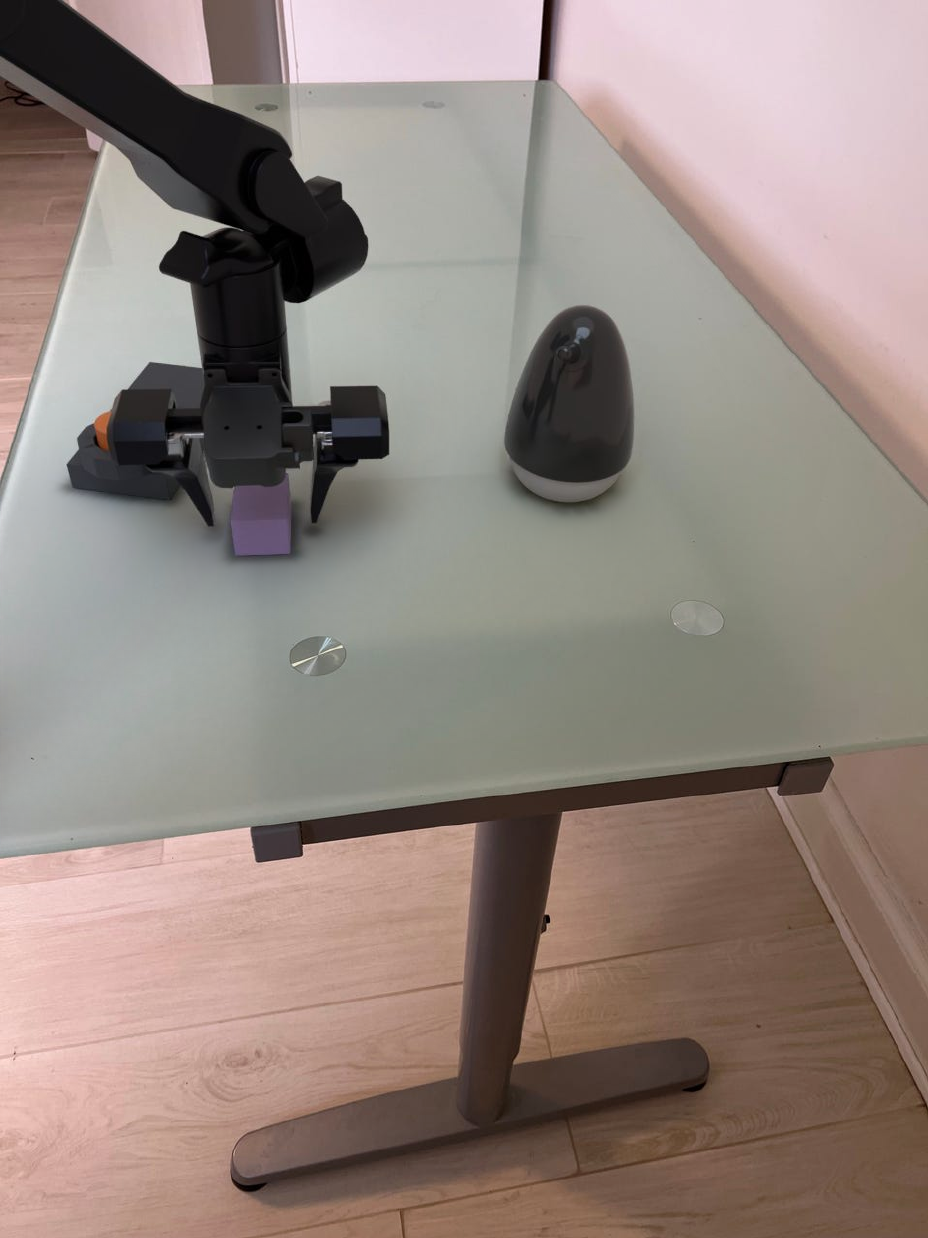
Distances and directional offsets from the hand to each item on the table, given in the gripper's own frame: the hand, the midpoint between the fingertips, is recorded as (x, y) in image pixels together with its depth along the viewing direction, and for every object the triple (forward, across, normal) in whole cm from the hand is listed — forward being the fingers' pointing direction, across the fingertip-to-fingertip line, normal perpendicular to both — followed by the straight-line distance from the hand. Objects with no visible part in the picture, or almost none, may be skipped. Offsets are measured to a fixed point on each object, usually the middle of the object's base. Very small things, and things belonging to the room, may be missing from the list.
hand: (263, 522), depth 74 cm
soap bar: (+1, 0, 0) cm, 1 cm away
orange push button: (-3, -11, +7) cm, 13 cm away
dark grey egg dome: (+1, +24, +5) cm, 25 cm away
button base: (+1, -9, +14) cm, 16 cm away
